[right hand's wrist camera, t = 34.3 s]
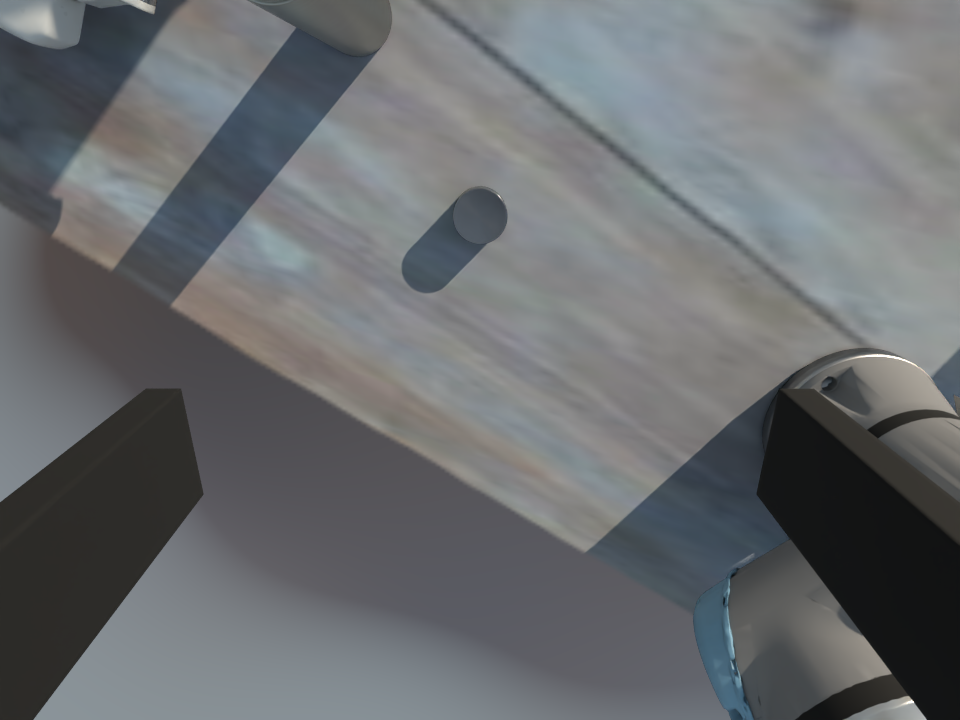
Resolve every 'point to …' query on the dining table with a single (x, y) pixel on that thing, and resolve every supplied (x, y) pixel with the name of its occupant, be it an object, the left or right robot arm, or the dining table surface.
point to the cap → (480, 215)
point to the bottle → (337, 21)
